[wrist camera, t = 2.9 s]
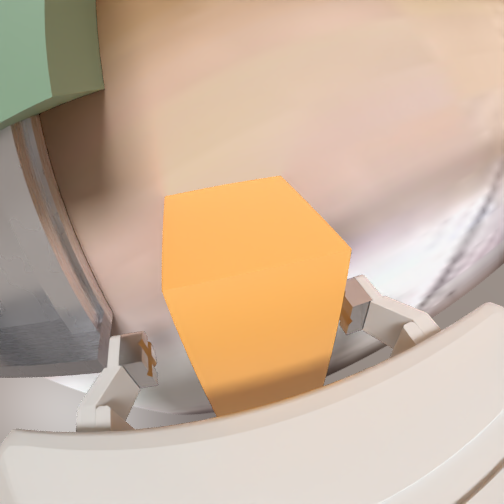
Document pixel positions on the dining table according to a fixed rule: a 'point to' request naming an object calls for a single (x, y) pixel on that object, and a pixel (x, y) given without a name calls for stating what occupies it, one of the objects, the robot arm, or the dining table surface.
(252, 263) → the orange block
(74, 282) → the open gray drawer
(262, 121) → the dining table surface
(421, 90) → the dining table surface
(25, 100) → the green block with dome
